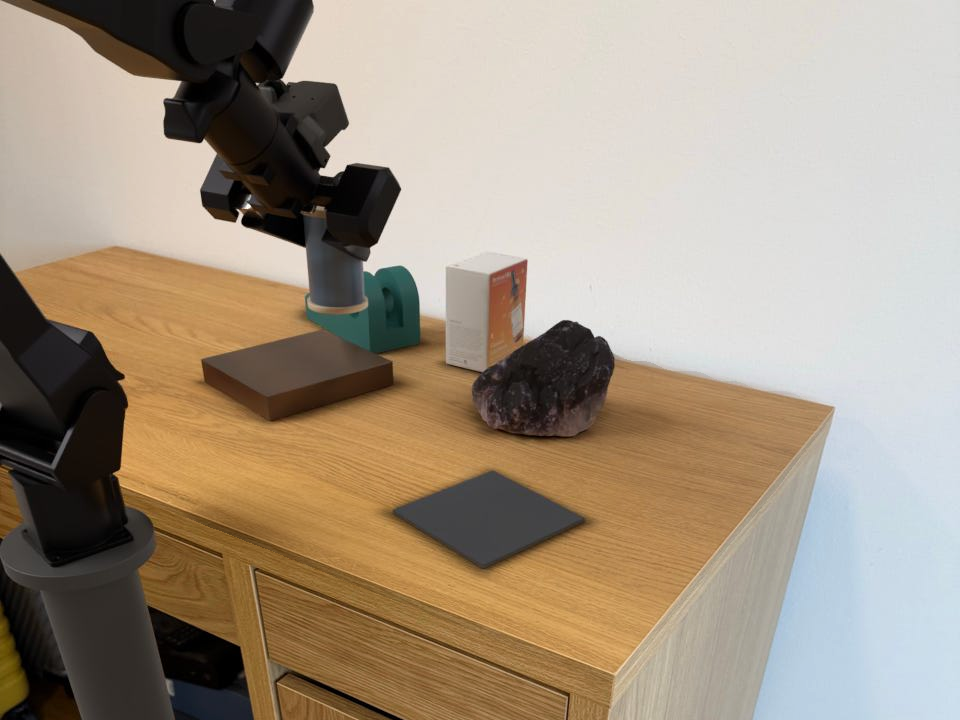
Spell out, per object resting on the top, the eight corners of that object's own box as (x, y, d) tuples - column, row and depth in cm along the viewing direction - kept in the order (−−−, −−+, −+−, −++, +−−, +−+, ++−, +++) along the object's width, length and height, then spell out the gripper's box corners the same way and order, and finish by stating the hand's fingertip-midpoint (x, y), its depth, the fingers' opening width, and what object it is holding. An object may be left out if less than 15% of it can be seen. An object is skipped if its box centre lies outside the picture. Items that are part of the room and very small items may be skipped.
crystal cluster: (447, 411, 92) (444, 316, 86) (552, 374, 98) (557, 281, 91) (527, 470, 84) (530, 370, 78) (636, 426, 90) (648, 329, 83)
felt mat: (483, 569, 67) (483, 564, 67) (392, 513, 74) (392, 509, 74) (584, 521, 73) (585, 517, 73) (492, 474, 80) (492, 470, 80)
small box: (486, 375, 99) (489, 274, 92) (444, 364, 101) (443, 265, 95) (524, 354, 104) (529, 257, 98) (483, 344, 106) (485, 249, 100)
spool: (321, 317, 85) (313, 213, 79) (298, 301, 89) (289, 200, 83) (378, 309, 87) (373, 207, 82) (353, 293, 91) (347, 195, 86)
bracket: (420, 343, 106) (418, 273, 102) (370, 354, 103) (366, 282, 98) (344, 303, 118) (339, 239, 113) (297, 312, 115) (290, 246, 110)
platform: (270, 421, 88) (266, 396, 86) (204, 382, 96) (200, 358, 94) (393, 384, 96) (392, 361, 95) (324, 351, 104) (322, 329, 102)
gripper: (382, 51, 69) (460, 189, 83) (203, 37, 76) (302, 166, 90) (323, 181, 68) (412, 298, 82) (148, 154, 76) (257, 265, 90)
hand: (344, 252), depth 86 cm, fingers closed on spool, 5 cm apart
